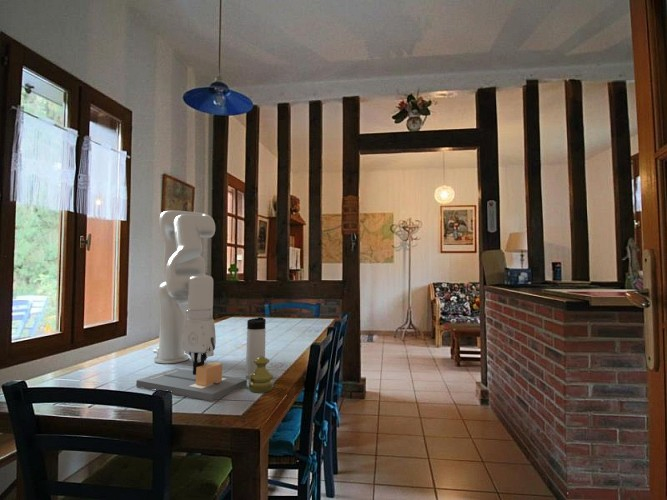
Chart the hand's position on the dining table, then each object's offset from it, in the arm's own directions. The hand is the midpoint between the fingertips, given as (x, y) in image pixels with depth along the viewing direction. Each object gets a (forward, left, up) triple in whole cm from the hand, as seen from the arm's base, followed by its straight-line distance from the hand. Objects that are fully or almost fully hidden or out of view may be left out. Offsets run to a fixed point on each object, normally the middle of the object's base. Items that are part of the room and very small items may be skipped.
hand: (198, 373), depth 121 cm
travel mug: (+9, +17, -4) cm, 20 cm away
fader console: (-3, 0, -4) cm, 5 cm away
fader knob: (+4, 0, -2) cm, 5 cm away
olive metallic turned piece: (+18, +7, -4) cm, 20 cm away
